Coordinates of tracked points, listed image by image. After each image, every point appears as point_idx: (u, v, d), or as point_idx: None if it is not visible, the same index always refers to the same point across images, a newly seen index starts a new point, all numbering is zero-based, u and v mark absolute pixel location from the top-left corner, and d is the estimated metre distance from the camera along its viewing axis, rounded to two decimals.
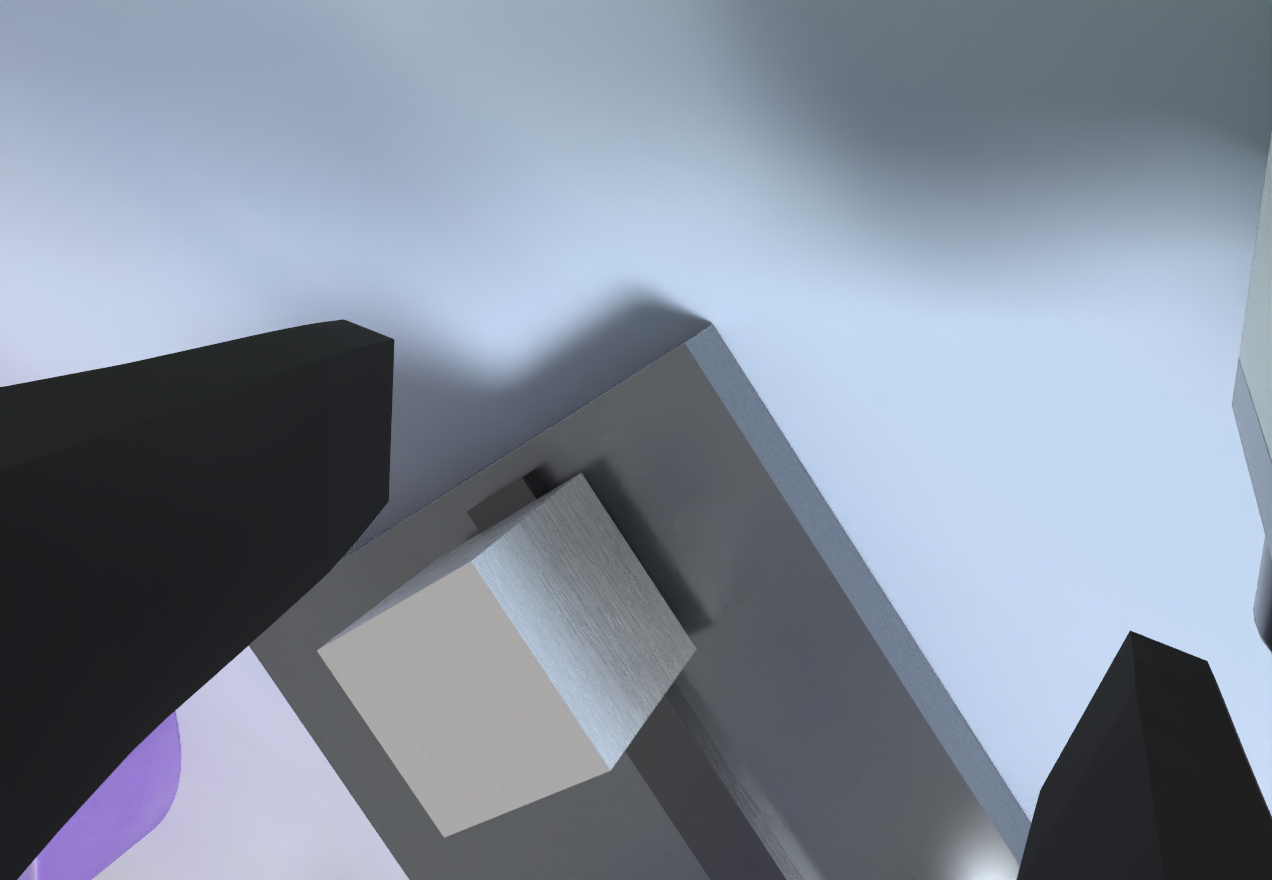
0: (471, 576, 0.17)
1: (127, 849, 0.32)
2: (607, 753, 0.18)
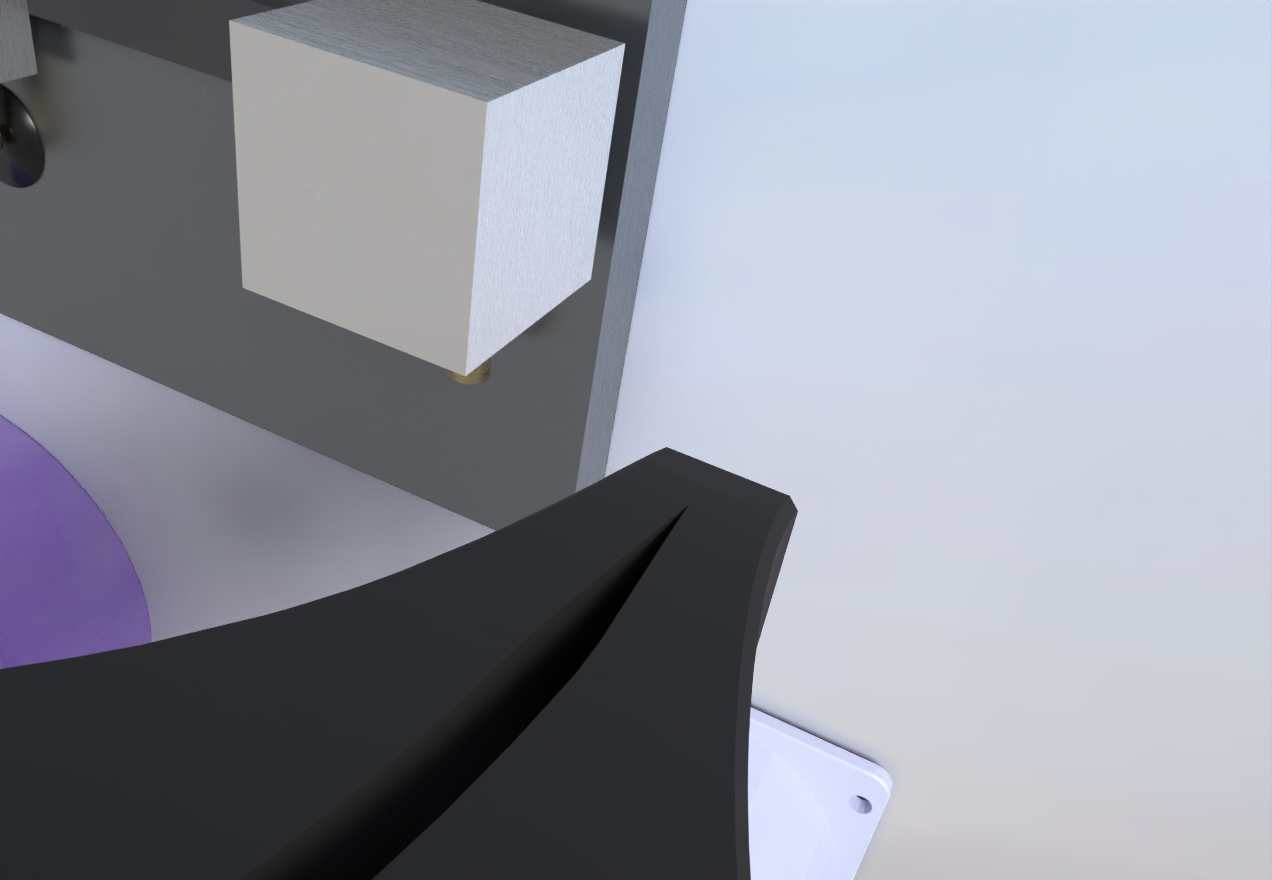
0: None
1: (113, 614, 0.33)
2: None
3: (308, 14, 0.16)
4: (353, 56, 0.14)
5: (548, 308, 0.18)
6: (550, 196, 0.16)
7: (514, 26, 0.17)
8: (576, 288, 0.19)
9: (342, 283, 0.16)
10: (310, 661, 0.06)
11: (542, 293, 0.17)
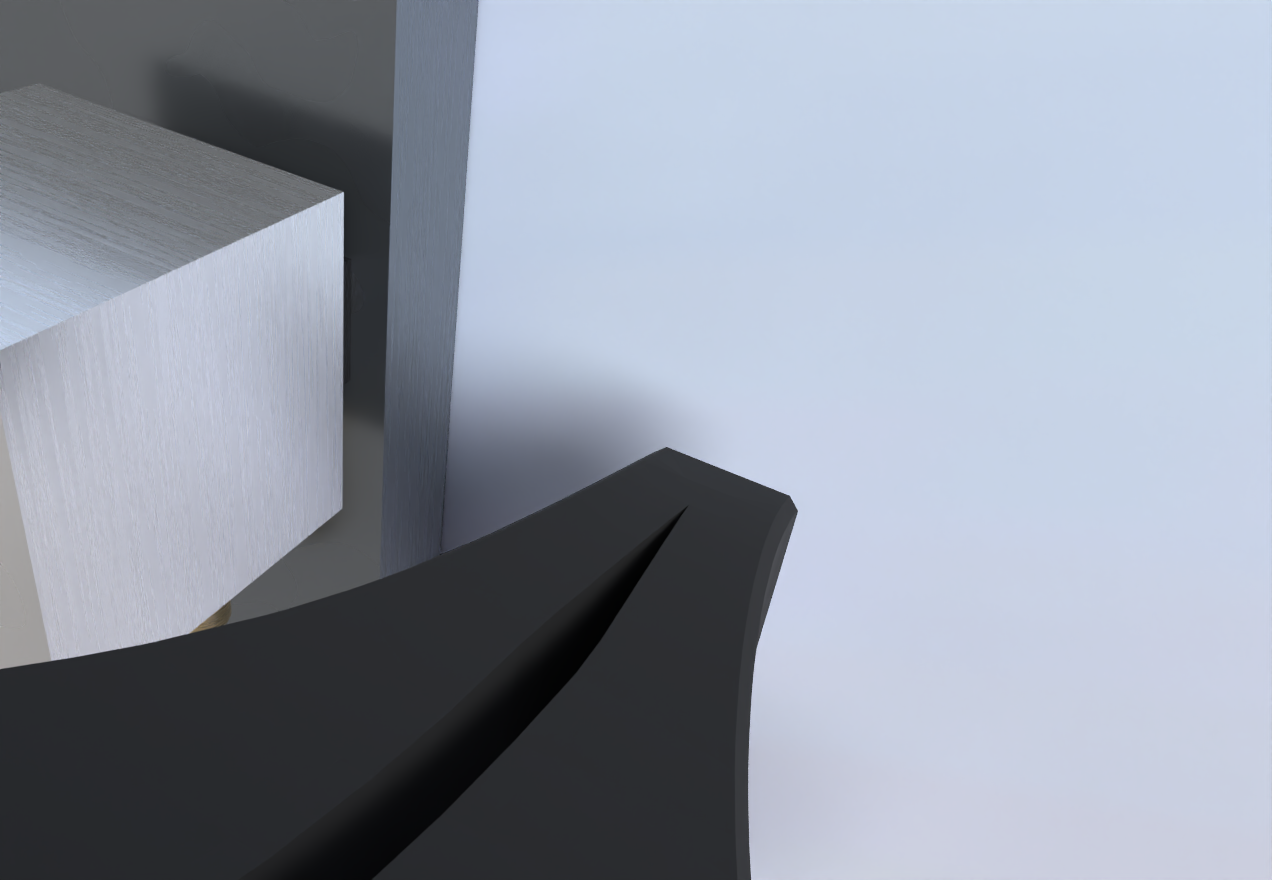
0: None
1: None
2: None
3: None
4: None
5: (257, 573, 0.12)
6: (215, 437, 0.10)
7: (167, 167, 0.11)
8: (314, 528, 0.13)
9: None
10: (308, 661, 0.06)
11: (231, 563, 0.12)
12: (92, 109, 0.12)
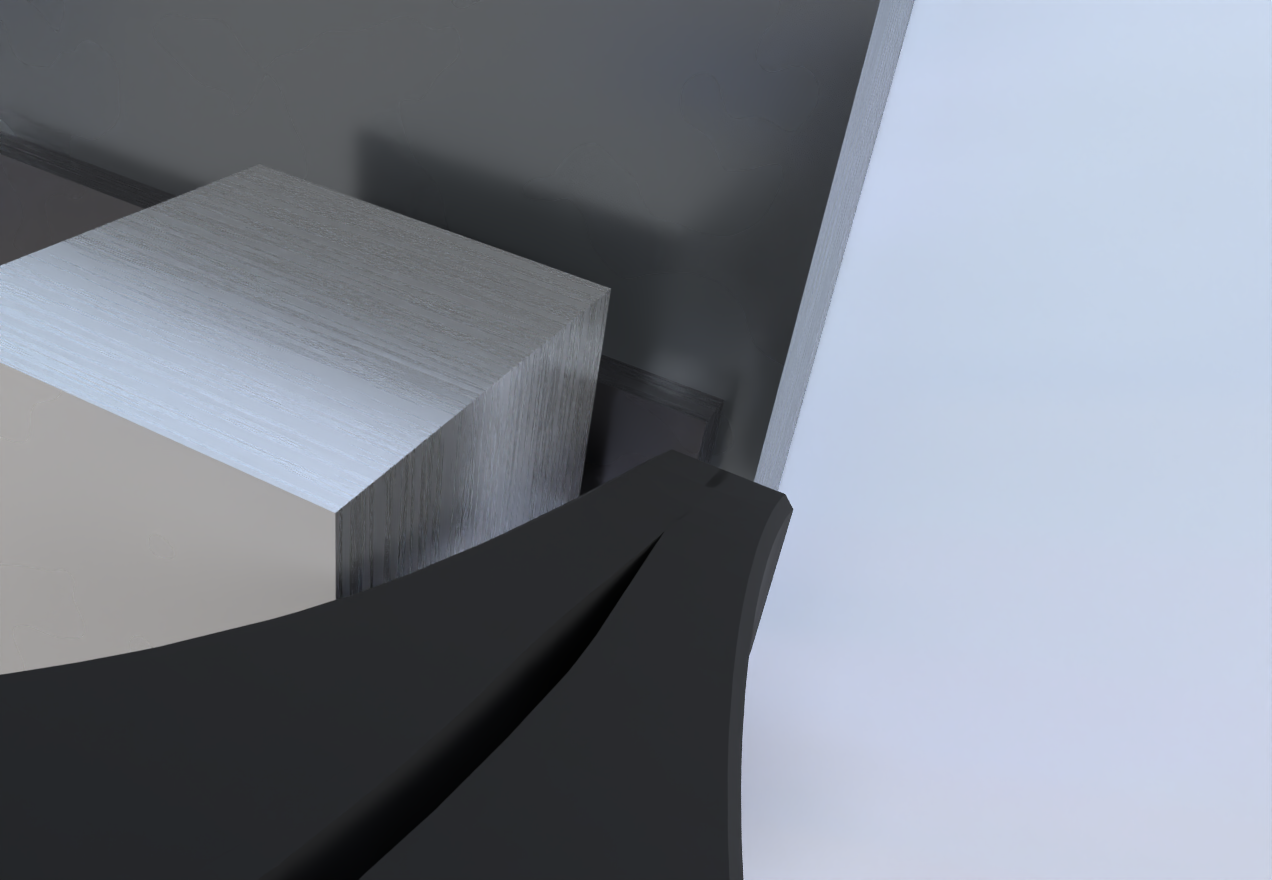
0: None
1: None
2: None
3: (55, 273, 0.09)
4: (100, 392, 0.08)
5: None
6: None
7: (426, 264, 0.10)
8: None
9: None
10: (316, 665, 0.06)
11: None
12: (323, 194, 0.11)
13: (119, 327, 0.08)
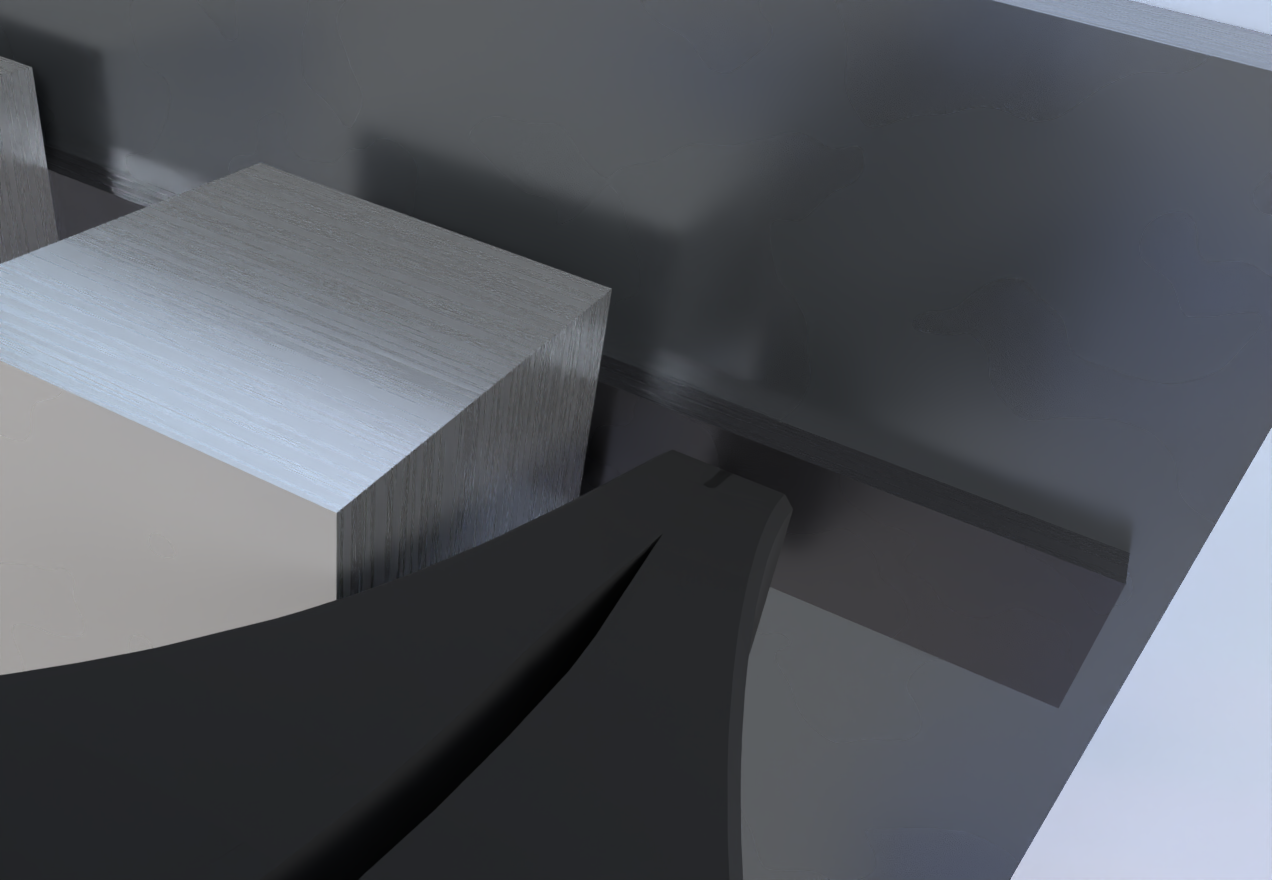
0: None
1: None
2: None
3: (55, 272, 0.09)
4: (101, 392, 0.08)
5: None
6: None
7: (428, 264, 0.10)
8: None
9: None
10: (316, 665, 0.06)
11: None
12: (324, 193, 0.11)
13: (120, 326, 0.08)
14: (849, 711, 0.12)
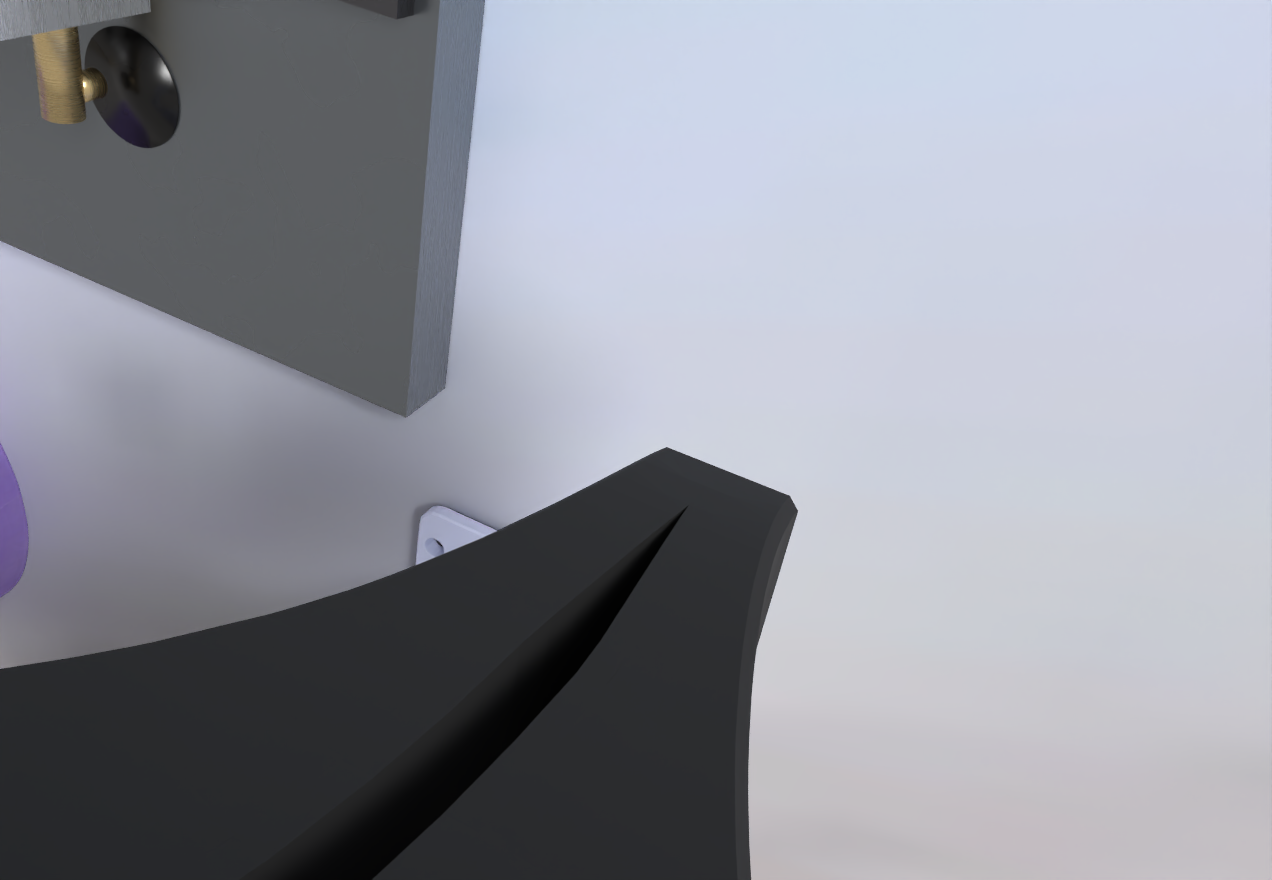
0: None
1: None
2: None
3: None
4: None
5: (86, 22, 0.19)
6: None
7: None
8: (129, 15, 0.20)
9: None
10: (308, 661, 0.06)
11: None
12: None
13: None
14: (325, 79, 0.21)
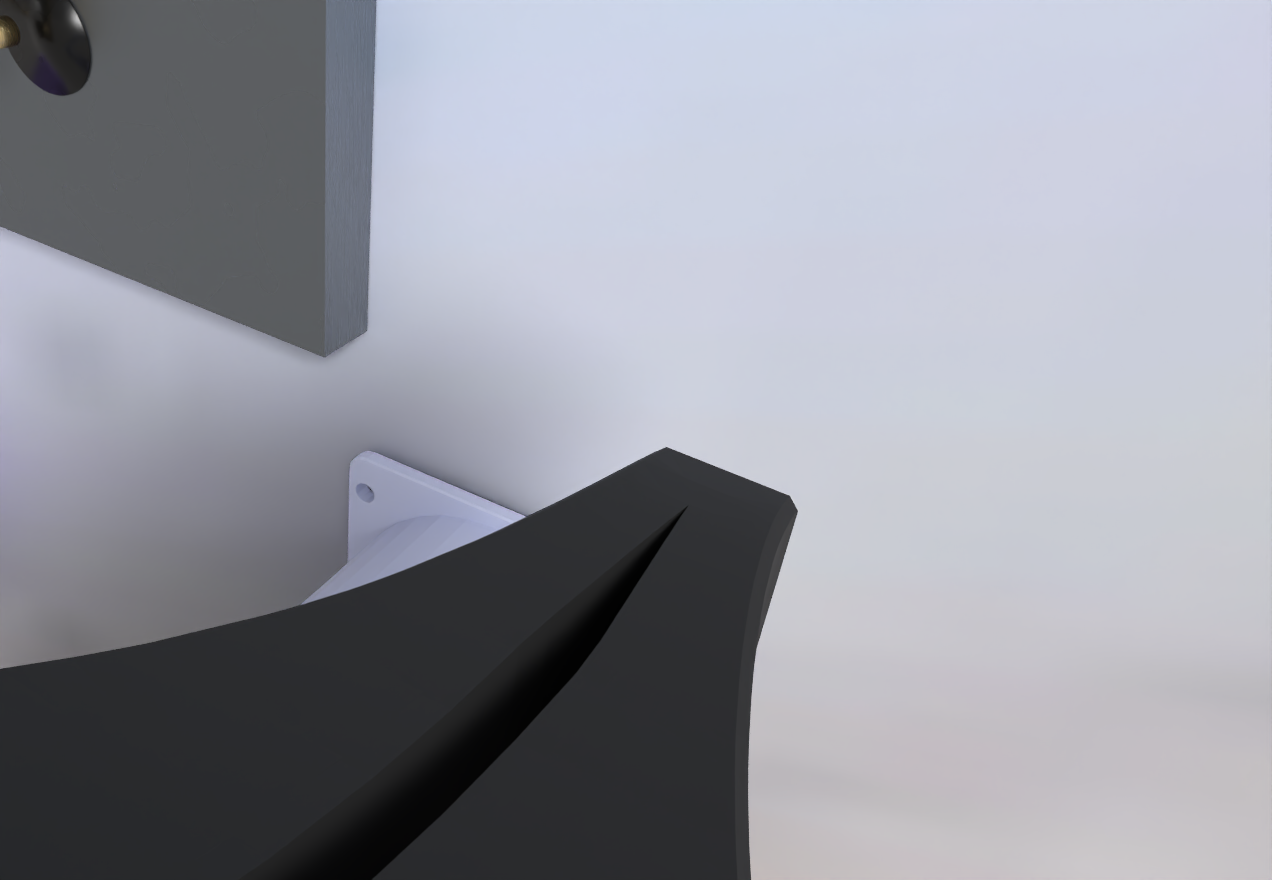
0: None
1: None
2: None
3: None
4: None
5: None
6: None
7: None
8: None
9: None
10: (308, 661, 0.06)
11: None
12: None
13: None
14: (224, 15, 0.21)
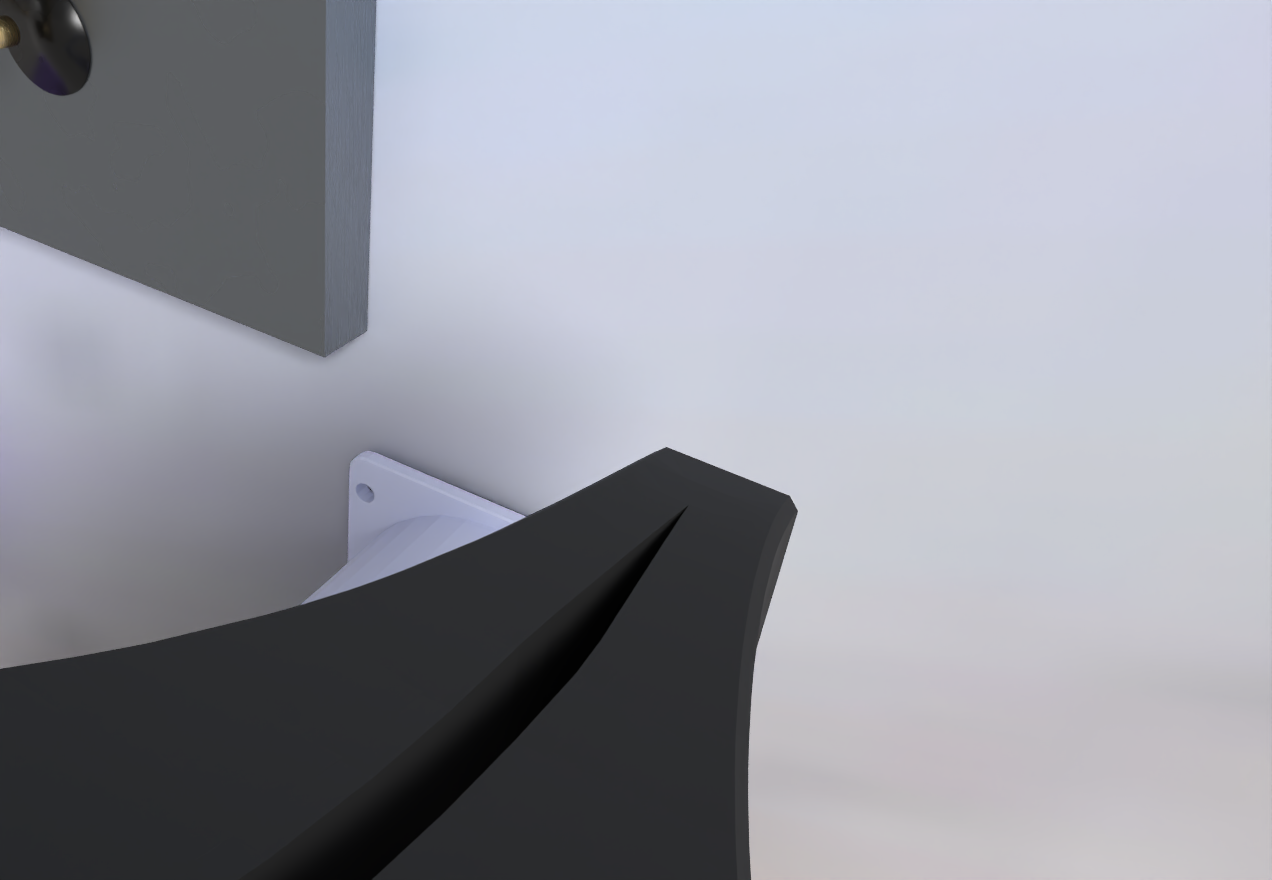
0: None
1: None
2: None
3: None
4: None
5: None
6: None
7: None
8: None
9: None
10: (308, 661, 0.06)
11: None
12: None
13: None
14: (224, 15, 0.21)
